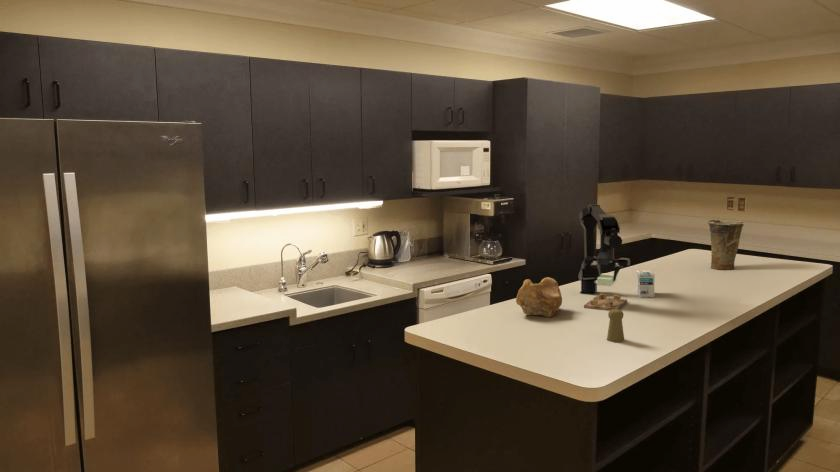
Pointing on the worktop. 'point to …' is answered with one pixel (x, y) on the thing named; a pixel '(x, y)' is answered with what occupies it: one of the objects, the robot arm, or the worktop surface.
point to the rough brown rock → (540, 297)
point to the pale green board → (606, 280)
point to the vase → (724, 243)
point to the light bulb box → (645, 283)
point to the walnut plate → (606, 302)
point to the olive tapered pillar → (615, 326)
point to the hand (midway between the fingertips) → (606, 280)
